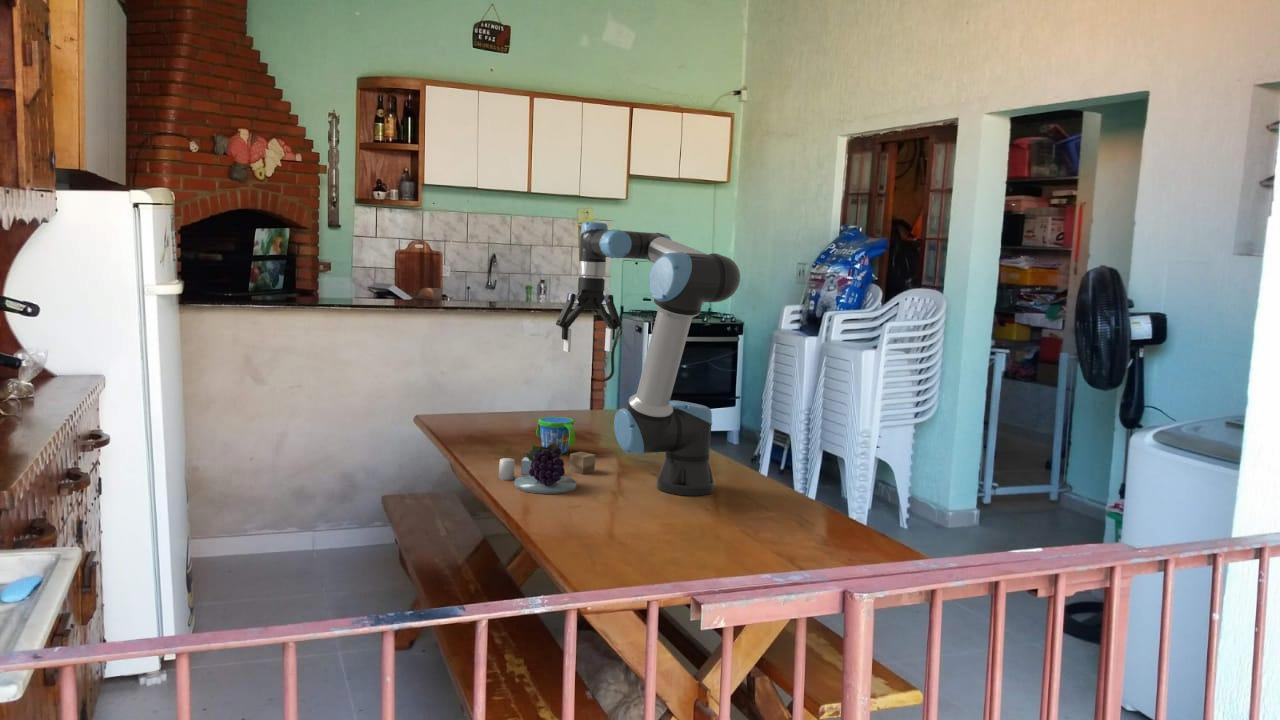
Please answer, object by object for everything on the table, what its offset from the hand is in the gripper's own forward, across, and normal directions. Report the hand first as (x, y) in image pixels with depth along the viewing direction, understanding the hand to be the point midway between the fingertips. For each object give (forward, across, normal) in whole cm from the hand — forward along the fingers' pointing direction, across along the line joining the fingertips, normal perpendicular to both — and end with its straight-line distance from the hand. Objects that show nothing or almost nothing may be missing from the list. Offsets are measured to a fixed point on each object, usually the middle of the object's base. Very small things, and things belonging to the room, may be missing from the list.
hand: (587, 351), depth 268 cm
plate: (+33, +22, +20) cm, 44 cm away
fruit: (+32, +22, +20) cm, 44 cm away
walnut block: (+33, +5, +9) cm, 34 cm away
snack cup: (+33, +1, -15) cm, 36 cm away
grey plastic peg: (+33, +28, +9) cm, 44 cm away
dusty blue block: (+33, +18, +7) cm, 38 cm away
